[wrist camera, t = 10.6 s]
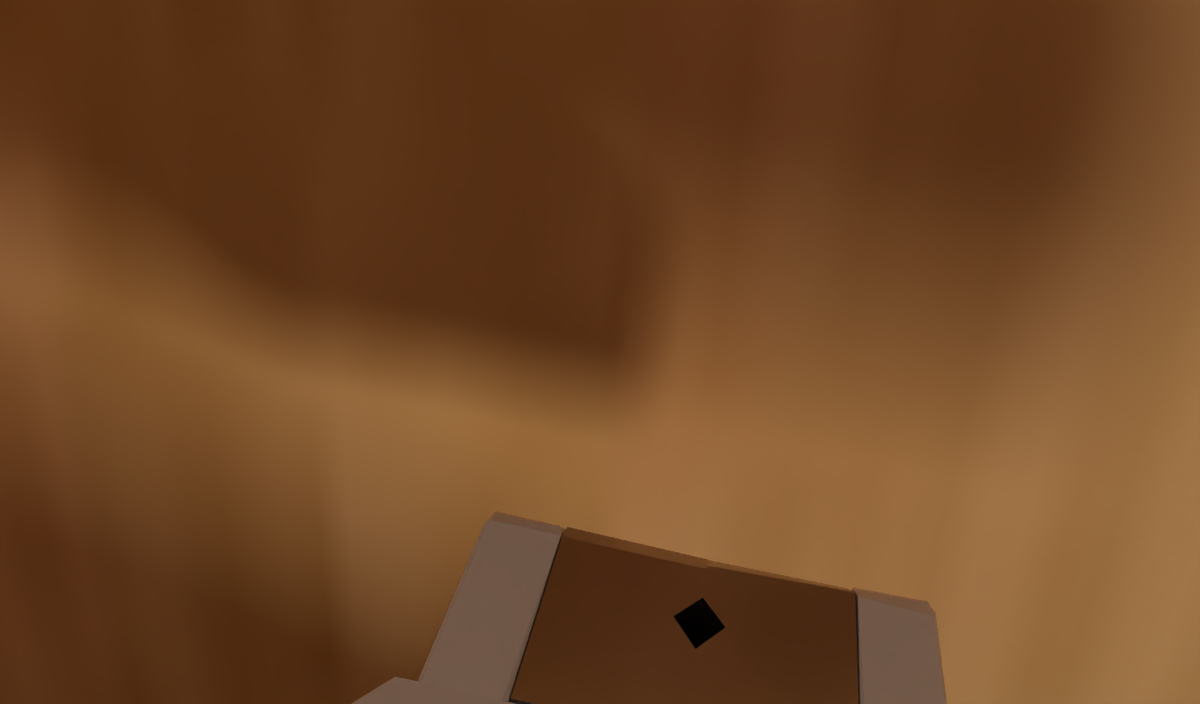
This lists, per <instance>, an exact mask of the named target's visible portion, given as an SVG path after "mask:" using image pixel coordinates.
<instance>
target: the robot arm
mask: <svg viewBox="0 0 1200 704" xmlns="http://www.w3.org/2000/svg"><path fill="white" fill-rule="evenodd" d="M351 704H947V701H946V693H945V685H944V677H943V669H942V661H941V653H940V645H939V637H938V629H937V621H936V613H935V612H934V610H933V609H932V607H931V606H930V604H929V603H928V602H927V601H921V600H916V599H910V598H905V597H900V596H894V595H889V594H884V593H878V592H873V591H868V590H862V589H857V588H853V589H852V591H851V590H849V589H847V588H842V587H837V586H832V585H827V584H823V583H818V582H813V581H808V580H803V579H798V578H793V577H788V576H783V575H778V574H773V573H769V572H764V571H759V570H754V569H749V568H744V567H739V566H734V565H729V564H724V563H719V562H714V561H710V560H707V559H703V558H698V557H694V556H690V555H686V554H681V553H677V552H673V551H668V550H664V549H660V548H655V547H651V546H647V545H643V544H638V543H634V542H630V541H625V540H621V539H617V538H613V537H608V536H604V535H600V534H595V533H591V532H587V531H582V530H578V529H574V528H570V527H567V529H566V530H565V529H564V528H562V527H561V526H557V525H552V524H548V523H543V522H539V521H535V520H530V519H526V518H521V517H517V516H512V515H508V514H504V513H499V512H495V513H494V514H493V515H492V516H491V517H490V518H489V519H488V520H487V522H486V523H485V524H484V526H483V528H482V530H481V533H480V535H479V538H478V540H477V542H476V545H475V547H474V549H473V552H472V554H471V556H470V559H469V561H468V563H467V566H466V568H465V570H464V573H463V575H462V577H461V580H460V582H459V585H458V587H457V589H456V592H455V594H454V596H453V599H452V601H451V603H450V606H449V608H448V610H447V613H446V615H445V617H444V620H443V622H442V625H441V627H440V629H439V632H438V634H437V636H436V639H435V641H434V643H433V646H432V648H431V650H430V653H429V655H428V657H427V660H426V662H425V664H424V667H423V669H422V672H421V674H420V676H419V679H418V681H414V680H409V679H404V678H399V677H393V678H392V679H390V680H388V681H387V682H385V683H383V684H382V685H380V686H379V687H377V688H375V689H374V690H372V691H370V692H369V693H367V694H366V695H364V696H362V697H361V698H359V699H357V700H356V701H354V702H353V703H351Z"/></svg>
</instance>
